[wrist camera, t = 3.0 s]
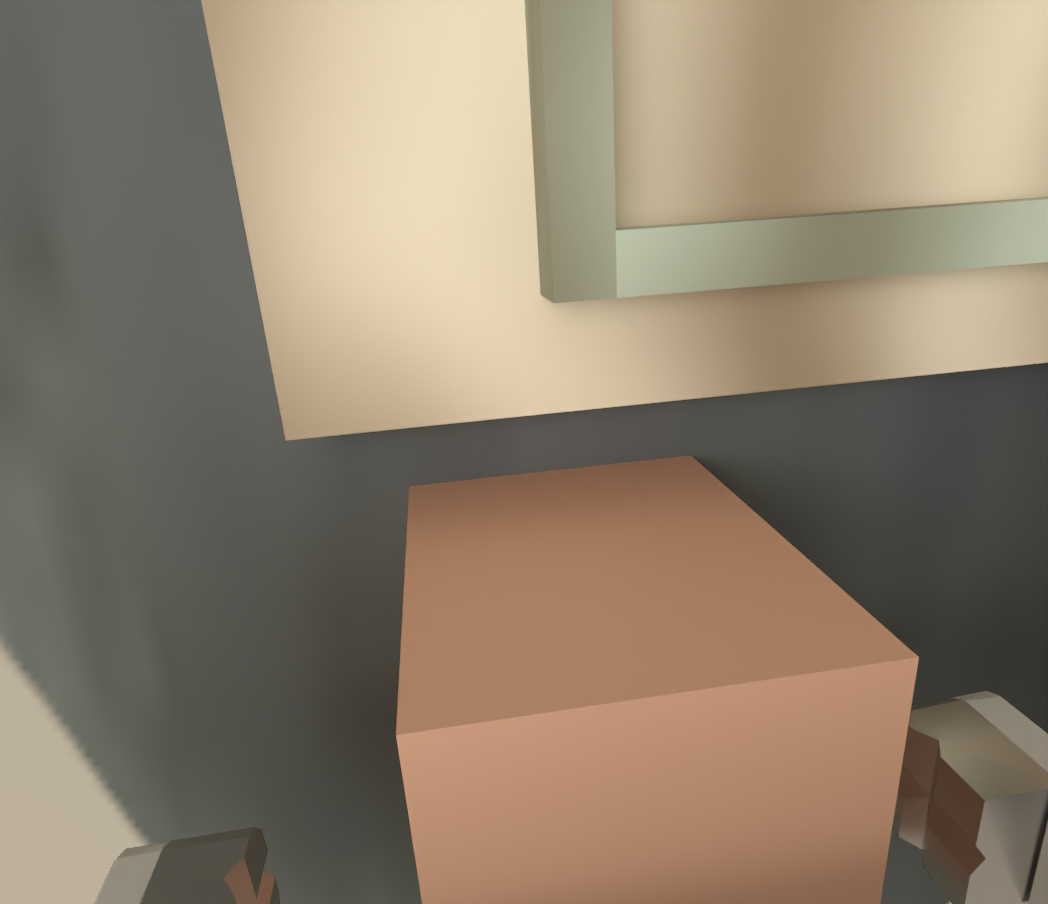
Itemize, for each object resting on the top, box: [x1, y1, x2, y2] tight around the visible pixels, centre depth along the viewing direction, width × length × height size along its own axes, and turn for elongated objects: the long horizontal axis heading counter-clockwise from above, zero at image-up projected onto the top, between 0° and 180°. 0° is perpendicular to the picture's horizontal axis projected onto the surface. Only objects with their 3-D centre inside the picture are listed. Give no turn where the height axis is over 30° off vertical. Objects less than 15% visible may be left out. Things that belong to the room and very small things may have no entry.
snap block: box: [396, 455, 919, 904], centre depth 10 cm, size 5×5×6 cm
